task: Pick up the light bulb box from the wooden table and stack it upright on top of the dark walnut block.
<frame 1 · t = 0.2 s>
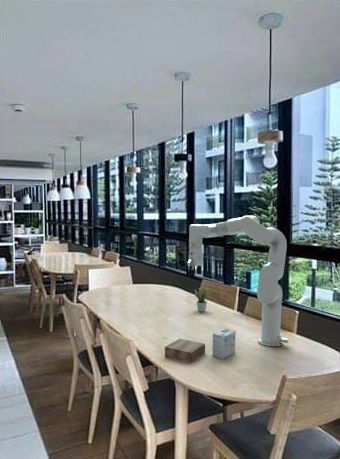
hand: (195, 275, 222), 31 cm above the table, tool pointing down, fingers open, 9 cm apart
house plant: (203, 311, 263), on the table
light bulb box: (223, 354, 184), on the table
walnut block: (185, 355, 182), on the table
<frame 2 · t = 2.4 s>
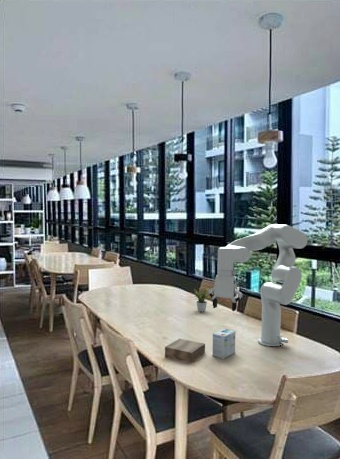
hand: (224, 309, 183), 22 cm above the table, tool pointing down, fingers open, 9 cm apart
nothing on the table moved.
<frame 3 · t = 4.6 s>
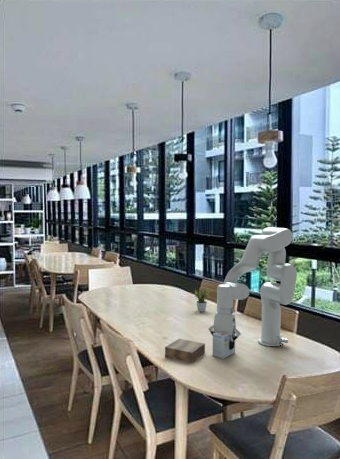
hand: (223, 347, 184), 3 cm above the table, tool pointing down, fingers closed on light bulb box, 7 cm apart
light bulb box: (223, 354, 184), on the table, touching gripper
everything else where it was.
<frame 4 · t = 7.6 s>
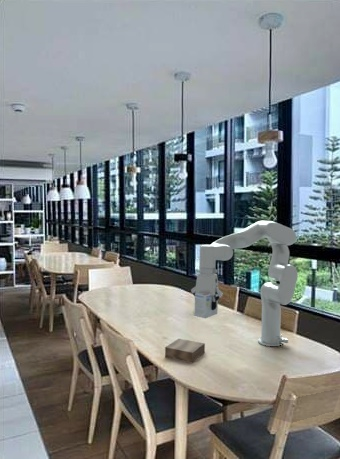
hand: (206, 308, 182), 22 cm above the table, tool pointing down, fingers closed on light bulb box, 7 cm apart
light bulb box: (206, 315, 182), point 19 cm above the table, touching gripper
everything else where it was.
when the fingers open (9 cm above the table, at t = 11.2 s): light bulb box drops 1 cm, point 4 cm above the table.
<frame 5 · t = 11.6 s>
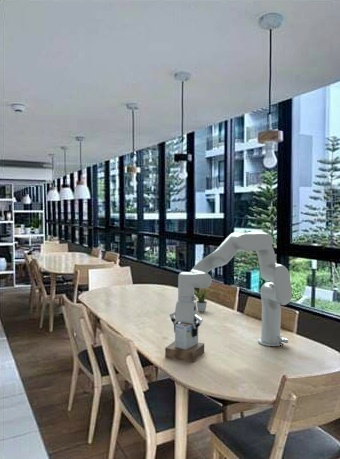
hand: (185, 334, 182), 10 cm above the table, tool pointing down, fingers open, 9 cm apart
light bulb box: (186, 346, 182), point 4 cm above the table
everything else where it was.
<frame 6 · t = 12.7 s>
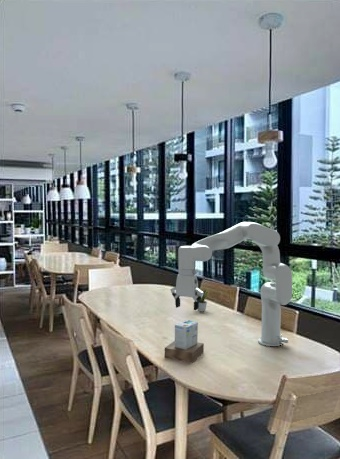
hand: (186, 308, 181), 22 cm above the table, tool pointing down, fingers open, 9 cm apart
light bulb box: (186, 345, 182), point 4 cm above the table, touching walnut block
walnut block: (184, 355, 182), on the table, touching light bulb box
everything else where it was.
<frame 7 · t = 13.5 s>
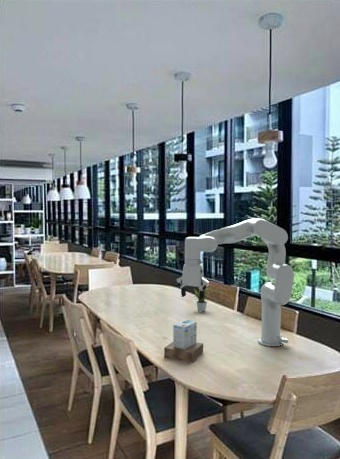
hand: (192, 297, 187), 26 cm above the table, tool pointing down, fingers open, 9 cm apart
nothing on the table moved.
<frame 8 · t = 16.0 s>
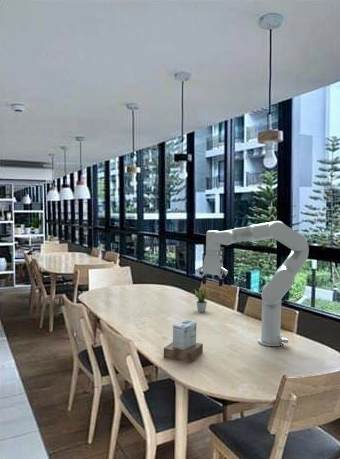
hand: (212, 284, 208), 28 cm above the table, tool pointing down, fingers open, 9 cm apart
nothing on the table moved.
at the end: light bulb box inside the target area on the walnut block (0.4 cm from its centre), point 4.8 cm above the walnut block's base; light bulb box tilted 1°; the gripper is holding nothing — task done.
